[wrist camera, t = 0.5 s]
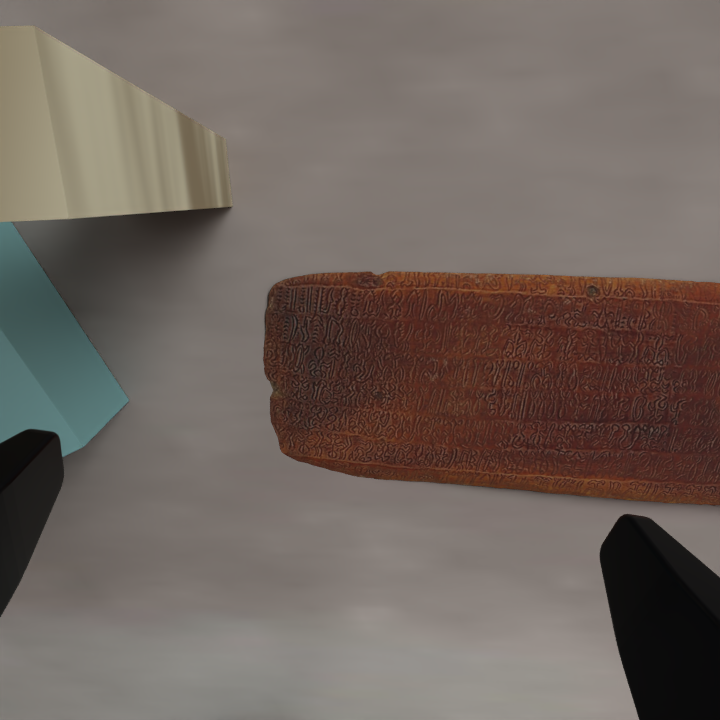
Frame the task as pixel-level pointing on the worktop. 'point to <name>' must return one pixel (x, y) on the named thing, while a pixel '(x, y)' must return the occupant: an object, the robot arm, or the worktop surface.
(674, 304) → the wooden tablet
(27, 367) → the end cap
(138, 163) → the slat
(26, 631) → the worktop surface
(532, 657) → the worktop surface
